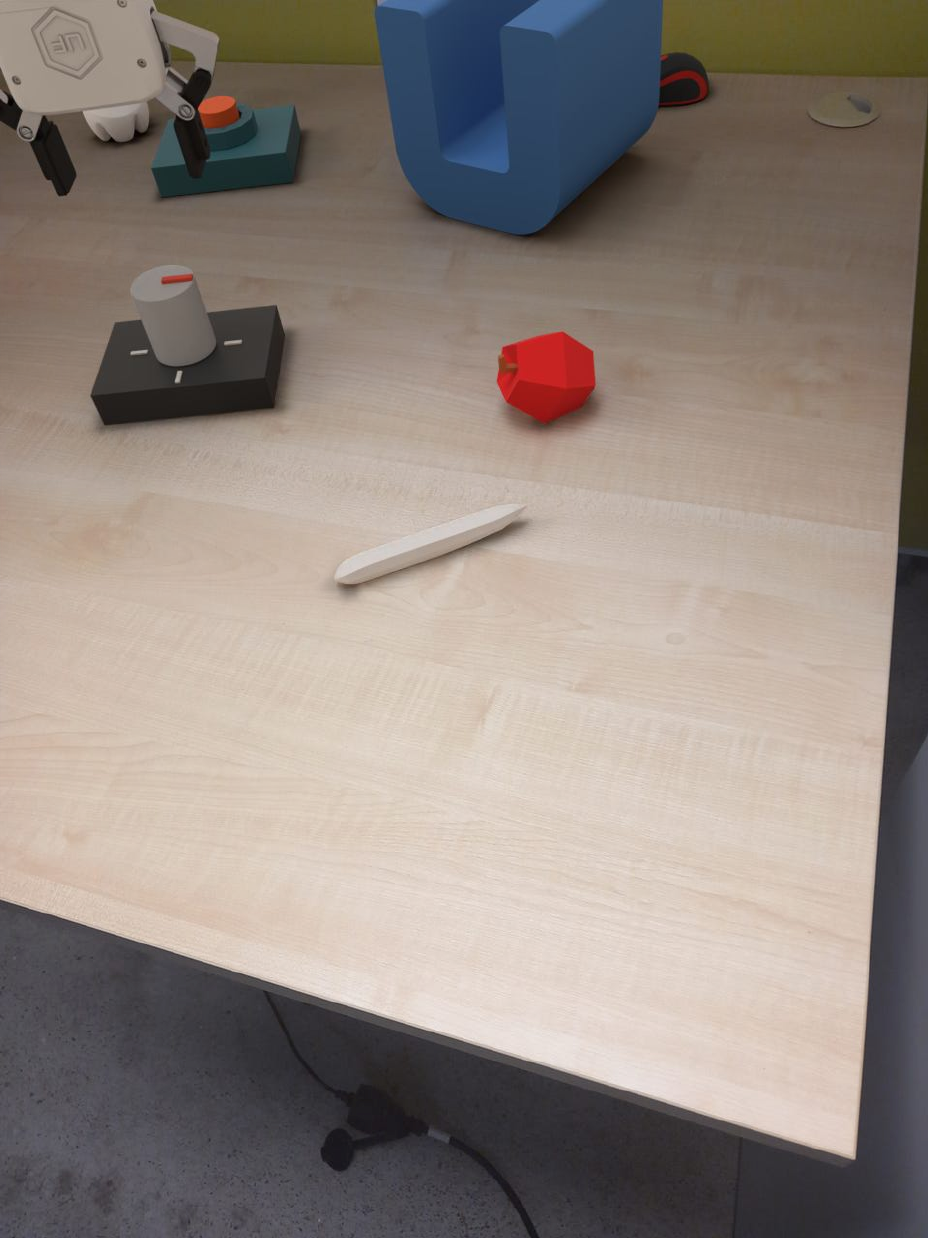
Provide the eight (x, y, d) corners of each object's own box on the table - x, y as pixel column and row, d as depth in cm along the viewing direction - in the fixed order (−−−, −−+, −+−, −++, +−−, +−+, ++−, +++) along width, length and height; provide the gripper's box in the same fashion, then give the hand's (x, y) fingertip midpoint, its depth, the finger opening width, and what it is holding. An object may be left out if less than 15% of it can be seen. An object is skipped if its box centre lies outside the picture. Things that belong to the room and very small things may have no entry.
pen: (532, 525, 70) (531, 508, 69) (339, 593, 68) (334, 576, 67) (523, 511, 71) (522, 493, 70) (333, 577, 69) (328, 560, 68)
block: (404, 205, 100) (373, 4, 87) (505, 125, 109) (490, -69, 95) (562, 246, 93) (554, 33, 79) (657, 156, 101) (665, -50, 88)
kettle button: (199, 132, 105) (194, 115, 104) (204, 114, 108) (199, 97, 107) (237, 127, 105) (232, 110, 104) (241, 110, 108) (237, 93, 106)
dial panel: (104, 425, 83) (89, 393, 80) (127, 351, 89) (114, 320, 87) (274, 408, 82) (264, 375, 79) (285, 334, 88) (276, 302, 86)
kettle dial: (150, 369, 82) (122, 300, 77) (161, 333, 85) (134, 264, 80) (212, 363, 81) (187, 293, 77) (220, 326, 85) (197, 257, 80)
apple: (598, 308, 77) (500, 297, 74) (622, 374, 73) (520, 365, 71) (564, 374, 82) (471, 366, 79) (585, 439, 79) (489, 433, 76)
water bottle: (164, 131, 117) (78, -131, 98) (106, 153, 115) (7, -110, 96) (141, 112, 121) (54, -143, 102) (84, 133, 119) (-15, -123, 100)
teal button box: (161, 197, 107) (144, 150, 103) (177, 148, 114) (162, 102, 110) (292, 182, 106) (281, 133, 102) (301, 133, 113) (290, 86, 109)
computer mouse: (600, 91, 112) (600, 52, 109) (699, 75, 112) (702, 36, 109) (612, 116, 108) (612, 76, 105) (714, 100, 108) (718, 60, 105)
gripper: (-133, -61, 58) (3, 219, 71) (161, -105, 57) (246, 188, 70) (-91, -102, 63) (29, 168, 76) (181, -143, 62) (257, 138, 75)
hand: (133, 178), depth 73 cm, fingers open, 9 cm apart
